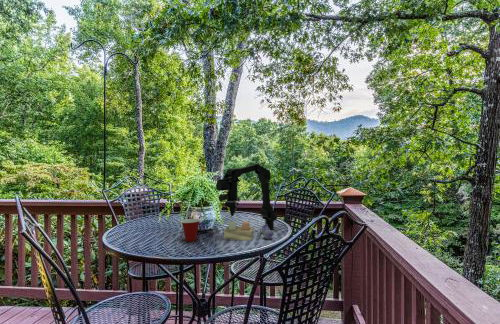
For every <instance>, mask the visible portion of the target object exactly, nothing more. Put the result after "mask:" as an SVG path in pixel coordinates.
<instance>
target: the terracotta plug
mask: <svg viewBox="0 0 500 324" xmlns="http://www.w3.org/2000/svg"><path fill="white" fill-rule="evenodd" d="M250 225H251V224H250V221H242V223H241V226H242V230H250V227H251V226H250Z"/></svg>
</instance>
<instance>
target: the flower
mask: <svg viewBox="0 0 500 324" xmlns="http://www.w3.org/2000/svg"><path fill="white" fill-rule="evenodd" d="M268 224H269V223H268ZM268 224H266V225H265V224H264V225H262V227H261V230H260V232H259V234H258V236H257V239H258V238H259V239H260V237H261V236H264V237H265V239H266V240H268V239H271V237H273V236H274V234H273V230H270V228H268ZM271 240H272V239H271Z"/></svg>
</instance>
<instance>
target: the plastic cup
mask: <svg viewBox="0 0 500 324" xmlns="http://www.w3.org/2000/svg"><path fill="white" fill-rule="evenodd" d="M200 220H201V219H199V218H188V219H187V218H186V219H183V220H181V221H180V223H181V224H182V229H183V234H184V238H185V239H184V240H185V241H186V242H187V243H192V242H195V241H196V240H197V235H198V228H199V224H200Z"/></svg>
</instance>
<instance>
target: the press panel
mask: <svg viewBox="0 0 500 324" xmlns="http://www.w3.org/2000/svg"><path fill="white" fill-rule="evenodd" d="M254 230H255V229H254V226H250V230H242V225H240V226H239V225H238V226H237V225H236V230H229V225H228V226H226V228H225V229H224V231H223V240H224V239H233V240H232V241H248V240H251V241H252V240H253V238H252V237H254V235H253V234H254Z"/></svg>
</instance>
